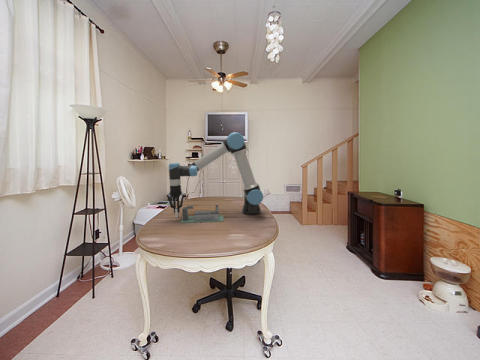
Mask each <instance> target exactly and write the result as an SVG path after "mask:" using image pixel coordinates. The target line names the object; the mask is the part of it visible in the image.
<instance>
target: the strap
mask: <svg viewBox="0 0 480 360" xmlns="http://www.w3.org/2000/svg"><path fill="white" fill-rule="evenodd" d="M194 210H195V211H197V210H213V211H216V209H215V207H211V208H210V207H194Z"/></svg>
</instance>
